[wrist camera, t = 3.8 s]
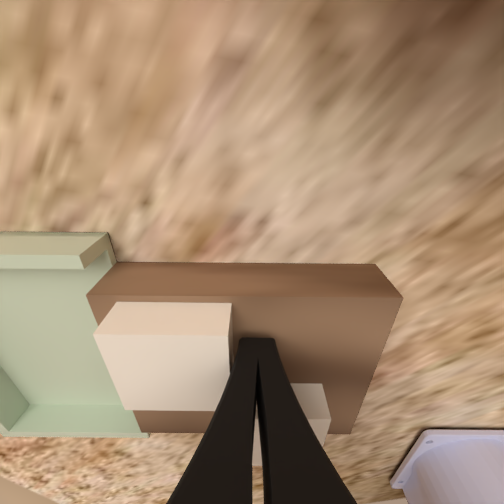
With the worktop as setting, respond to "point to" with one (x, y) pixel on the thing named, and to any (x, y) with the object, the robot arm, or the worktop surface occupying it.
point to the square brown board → (274, 322)
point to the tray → (55, 339)
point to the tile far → (313, 408)
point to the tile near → (168, 353)
